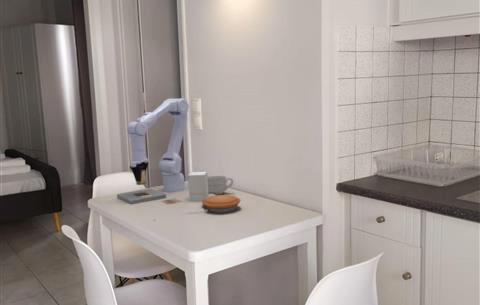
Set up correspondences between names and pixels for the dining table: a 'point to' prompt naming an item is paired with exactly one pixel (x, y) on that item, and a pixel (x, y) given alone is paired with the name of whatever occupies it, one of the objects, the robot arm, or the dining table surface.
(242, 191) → the dining table surface
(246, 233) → the dining table surface
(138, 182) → the brass peg
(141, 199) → the hole board
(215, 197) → the pie
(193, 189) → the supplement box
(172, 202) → the tan flat square
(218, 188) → the teacup
